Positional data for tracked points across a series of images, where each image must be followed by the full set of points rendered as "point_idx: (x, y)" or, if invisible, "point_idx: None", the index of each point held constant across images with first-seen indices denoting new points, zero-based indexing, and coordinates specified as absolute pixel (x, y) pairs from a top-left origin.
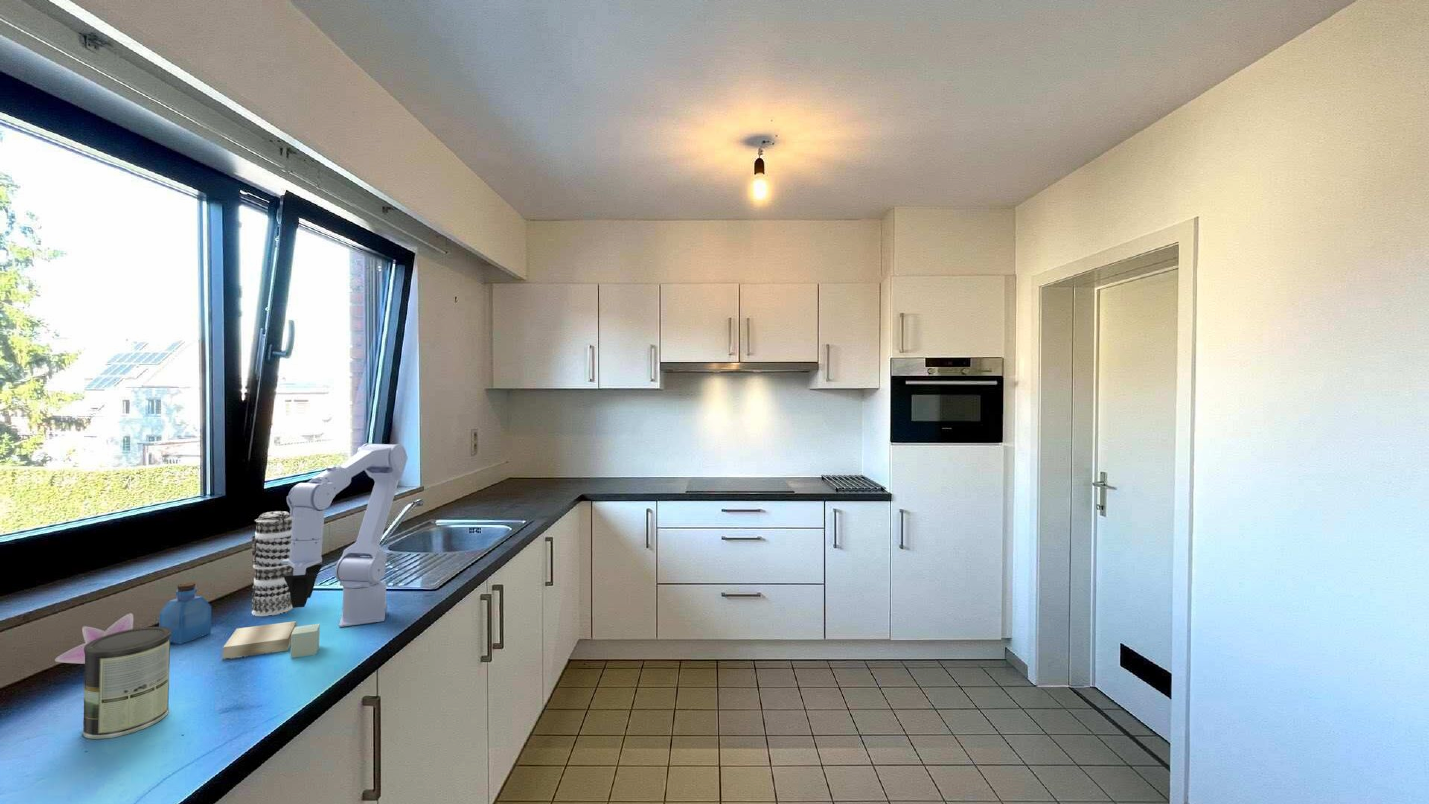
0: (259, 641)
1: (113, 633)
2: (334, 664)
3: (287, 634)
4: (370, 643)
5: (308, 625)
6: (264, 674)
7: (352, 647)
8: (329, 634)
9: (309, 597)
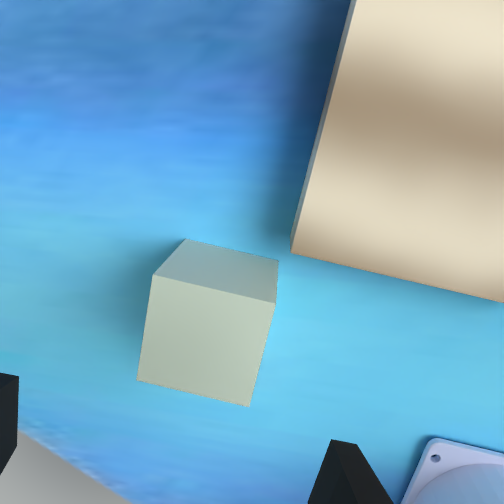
0: (338, 128)
1: None
2: (28, 355)
3: (355, 257)
4: (168, 478)
5: (254, 361)
6: (53, 137)
7: (164, 428)
8: (374, 393)
9: (310, 502)
